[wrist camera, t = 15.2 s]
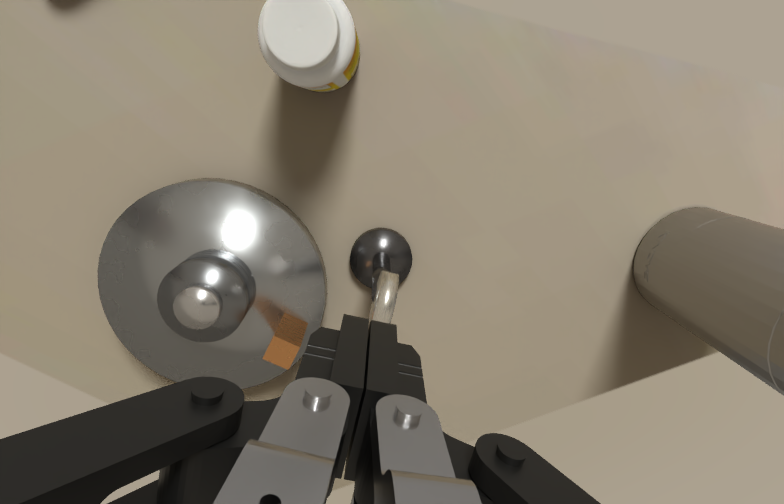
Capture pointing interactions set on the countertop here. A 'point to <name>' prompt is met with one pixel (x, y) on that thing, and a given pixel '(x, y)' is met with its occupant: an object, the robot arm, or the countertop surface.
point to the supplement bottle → (309, 42)
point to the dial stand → (381, 268)
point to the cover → (206, 295)
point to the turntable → (221, 232)
